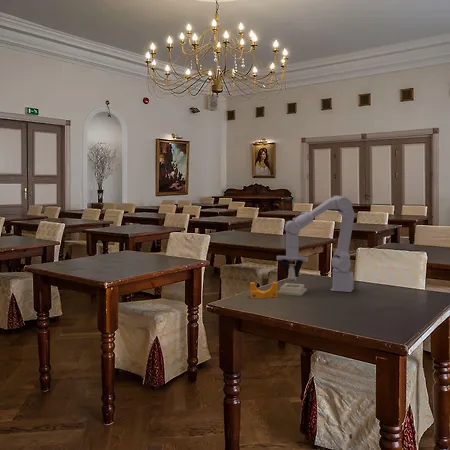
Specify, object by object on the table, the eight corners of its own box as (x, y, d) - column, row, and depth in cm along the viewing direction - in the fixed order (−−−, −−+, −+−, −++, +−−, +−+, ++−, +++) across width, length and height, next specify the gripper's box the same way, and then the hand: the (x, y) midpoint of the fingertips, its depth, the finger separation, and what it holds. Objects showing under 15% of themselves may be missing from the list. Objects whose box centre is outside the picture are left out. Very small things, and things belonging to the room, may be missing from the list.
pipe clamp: (250, 298, 217) (250, 284, 217) (250, 296, 222) (250, 282, 221) (277, 298, 217) (277, 284, 216) (277, 296, 221) (277, 282, 221)
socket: (306, 290, 230) (306, 284, 230) (301, 295, 220) (301, 289, 220) (284, 288, 235) (284, 282, 234) (277, 293, 224) (277, 287, 224)
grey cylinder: (297, 279, 228) (297, 264, 227) (295, 281, 224) (295, 265, 224) (288, 278, 229) (288, 264, 229) (287, 280, 226) (286, 265, 225)
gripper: (274, 247, 225) (274, 277, 226) (305, 249, 219) (305, 279, 220) (278, 245, 231) (278, 274, 232) (309, 246, 226) (309, 276, 227)
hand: (292, 276), depth 227 cm, fingers closed on grey cylinder, 4 cm apart
